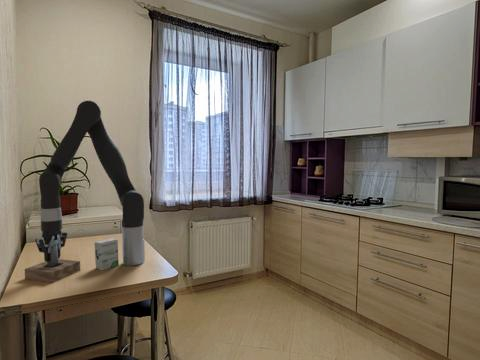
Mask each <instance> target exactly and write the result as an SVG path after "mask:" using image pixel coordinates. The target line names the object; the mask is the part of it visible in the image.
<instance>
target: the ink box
mask: <svg viewBox="0 0 480 360" xmlns="http://www.w3.org/2000/svg"><path fill="white" fill-rule="evenodd" d="M118 243H119V242H118V239H116V238H107V239H104V240H100V241H94V255H95V256H94V257H95V269H97V270H99V271H103V270H107V269H111V268H114V267H117V266H120V264H119V244H118Z"/></svg>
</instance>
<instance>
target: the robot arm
mask: <svg viewBox="0 0 480 360" xmlns="http://www.w3.org/2000/svg"><path fill="white" fill-rule="evenodd" d="M101 115H102V110H101V107H100V105H99V104H98V103H96V102H95V101H93V100H84V101H82V102H80V103H79V104H78V105H77V108H76V113H75V116H74V118H73V121H72V123H71V125H70V127H69V128H68V130H67V132H66V133H65V135H64V137H63V138H62V139H61V140H60V141H59V144H58V145H57V147H56V149H55V150H54V152H53V154H52V156H51V158H50V162H49V163H48V165H47V166H46V168H45V169H44V170H43V172H42V173H40V174H39V178H38V183H39V191H40V216H39V217H40V231H41V232H42V233H41V237H39V238H36V239H35V241H34V242H35V244H36V248H37V249H38V252H39V253H43V256H44V257H43V258H44V259H43V260H44V262H45V261H46V262H50V261H51V253H50V251H51V247H52V245H53V241H54V240H58V259H61V249H62V248H63V247H65V245H66V241H67V236H68V232H62V230H63V213H62V212H63V211H62V205H61V204H62V203H61V202H62V201H61V195H60V182H61V180H62V178H63V176H64V174H65V172H66V170H67V168H68V167H69V166H70V165H71V163H72V161H73V159H74V157H75V156H76V154H77V151H78V150H79V148H80V145H81V143H82V142H83V140H84V139H85V136H86V134H88V136H89V137H90V141H91V143H92V146H93V148H94V151H95V154H96V156H97V158H98V160H99V162H100V164H101V167H102V168H103V170H104V171H105V173H106V175H107V177H108V178H109V180H110V181H111V184H113V186H114V189H115V192H116V193H117V196H118V199H119V202H120V204H121V206H122V220H121V235H122V236H121V239H122V240H121V243H122V244H121V245H122V264H123V266H128V267H129V266H139V265H141V264H143V263H144V262H145V260H146V259H145V256H146V255H145V240H144V219H145V201H144V197H143V195H142V194H141V193H140V192H138V191H137V189H136V188H135V186H134V185H133V183H132V182H131V180H130V177H129V172H128V169H127V166H126V162H125V160H124V158H123V155H122V153H121V151H120V150H119V147H118V146H117V144H116V143H115V141H114V140H113V138H112V137H111V135H110V134H109V133H108V131H107V128H106V127H105V124H104V121H103V119H102V116H101ZM46 243H47V244H49V245H46ZM47 247H48V249H47Z"/></svg>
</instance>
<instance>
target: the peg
mask: <svg viewBox="0 0 480 360" xmlns="http://www.w3.org/2000/svg"><path fill="white" fill-rule="evenodd" d="M46 245H49V244H47V243H46ZM47 249H48V247H47ZM50 253H51V261H50V262H47V267H50V268H54V267H57V266H58V240H54V241H53V245H52V247H51V251H50Z"/></svg>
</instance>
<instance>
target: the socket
mask: <svg viewBox="0 0 480 360" xmlns="http://www.w3.org/2000/svg"><path fill="white" fill-rule="evenodd" d="M80 271H81V260H80V261H79V260H71V259H64V258H62V259H61V258H59V259H58V266H57V267H54V268H50V267H47V262H46V261H45V260H44V262H43V261H42V262H40V263H38V264H34V265H32V266H29V267H26V268H24V280H30V279H31V280H32V281H38V282H44V283H45V282H46V283H55V282H57V281H60V280H62V279H64V278H67V277H69V276H71V275H73V274H75V273H77V272H80ZM31 280H30V281H31Z"/></svg>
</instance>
